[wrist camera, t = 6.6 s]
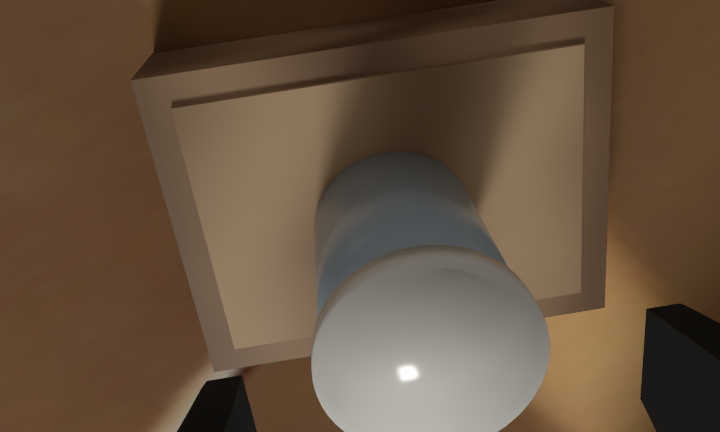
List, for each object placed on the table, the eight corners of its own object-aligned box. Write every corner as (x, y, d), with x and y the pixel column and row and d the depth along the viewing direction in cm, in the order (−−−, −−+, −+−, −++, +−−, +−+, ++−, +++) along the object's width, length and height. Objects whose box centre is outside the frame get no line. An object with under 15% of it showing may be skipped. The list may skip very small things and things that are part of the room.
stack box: (569, -11, 19) (617, 6, 17) (568, 259, 23) (606, 310, 21) (152, 53, 19) (128, 82, 16) (223, 315, 23) (213, 375, 20)
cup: (474, 134, 18) (551, 244, 12) (481, 287, 20) (548, 437, 14) (295, 159, 18) (293, 279, 12) (321, 309, 20) (329, 469, 14)
